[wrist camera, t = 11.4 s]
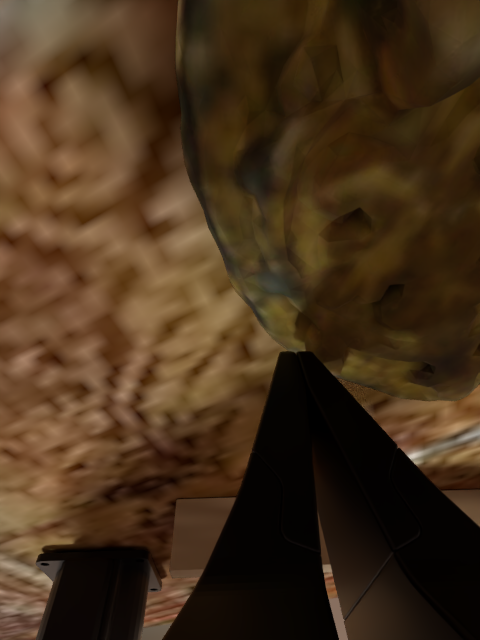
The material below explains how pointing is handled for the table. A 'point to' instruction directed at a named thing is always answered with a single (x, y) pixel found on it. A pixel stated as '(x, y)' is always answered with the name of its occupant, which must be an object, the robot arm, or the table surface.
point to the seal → (344, 177)
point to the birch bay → (211, 514)
